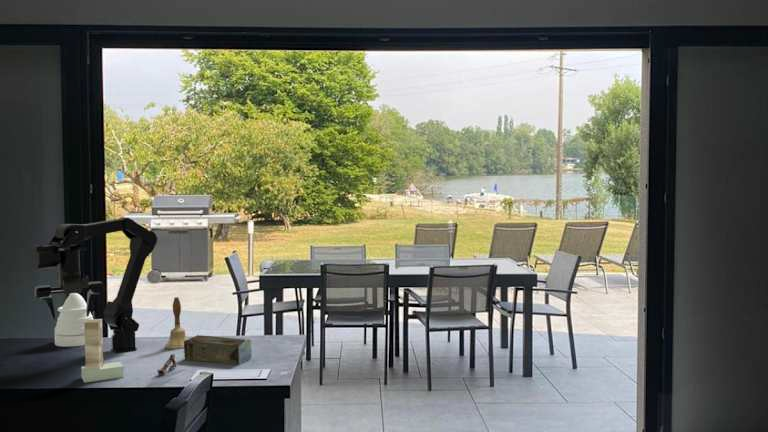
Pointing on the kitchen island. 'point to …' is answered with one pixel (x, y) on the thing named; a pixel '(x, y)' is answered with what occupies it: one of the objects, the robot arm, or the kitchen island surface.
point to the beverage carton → (217, 349)
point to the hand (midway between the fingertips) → (71, 317)
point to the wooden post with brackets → (171, 359)
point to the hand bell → (176, 329)
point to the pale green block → (103, 372)
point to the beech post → (93, 344)
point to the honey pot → (72, 322)
